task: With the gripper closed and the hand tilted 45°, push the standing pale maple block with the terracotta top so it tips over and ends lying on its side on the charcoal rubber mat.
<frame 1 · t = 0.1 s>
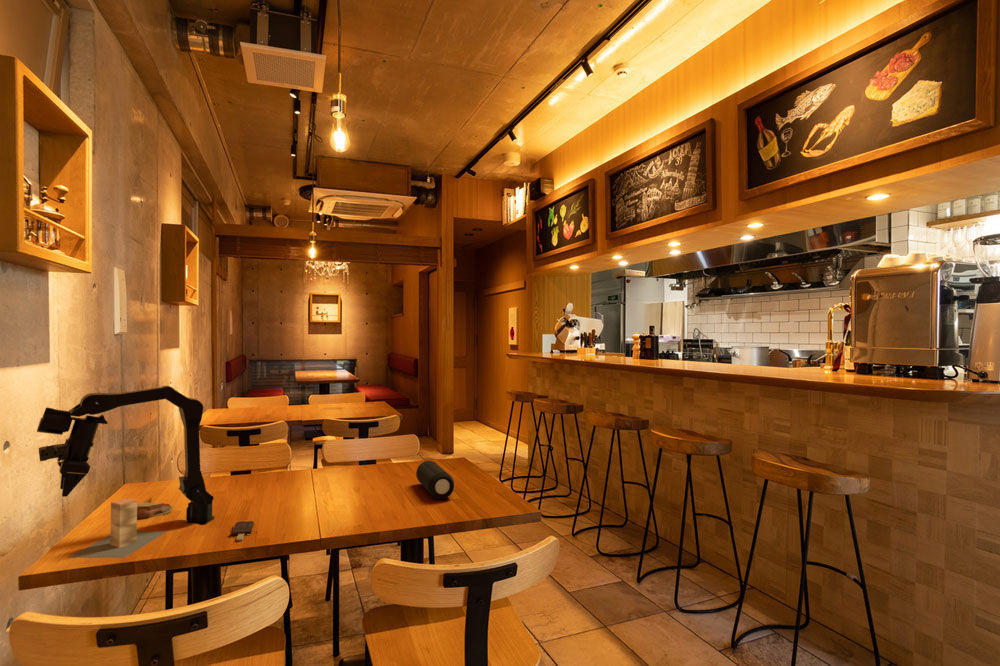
hand: (63, 492, 151), 15 cm above the table, tool pointing down, fingers open, 9 cm apart
toy sandwich meal: (151, 515, 180), on the table
ice cream bar: (242, 534, 164), on the table
portable speaker: (434, 492, 210), on the table
rubber mat: (120, 545, 153), on the table
maple block: (123, 543, 153), point 1 cm above the table, touching rubber mat
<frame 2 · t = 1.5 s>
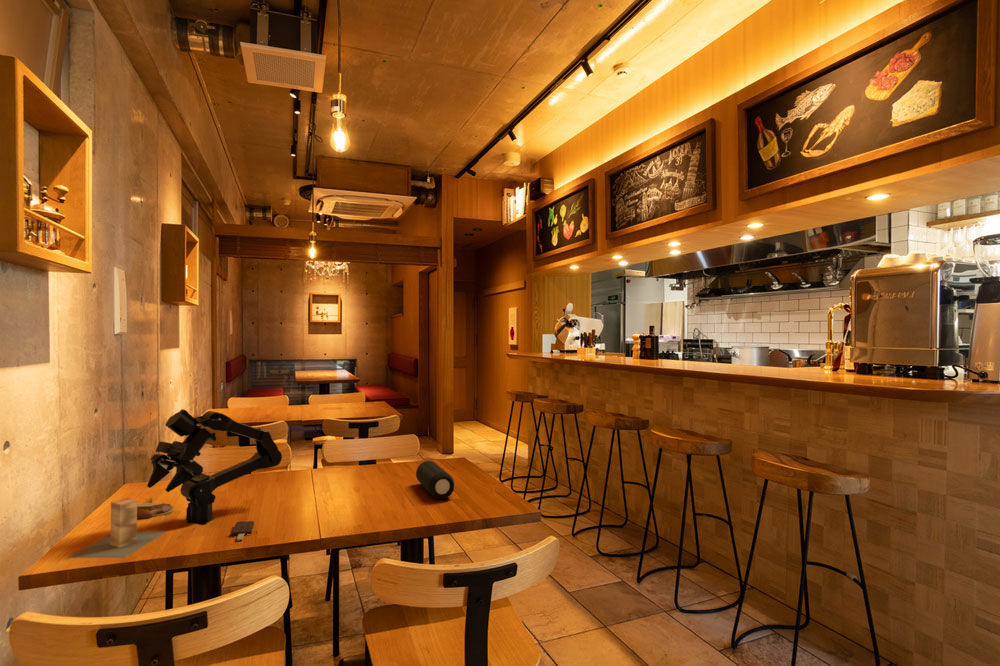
hand: (157, 489, 161), 14 cm above the table, tool tilted 45°, fingers open, 9 cm apart
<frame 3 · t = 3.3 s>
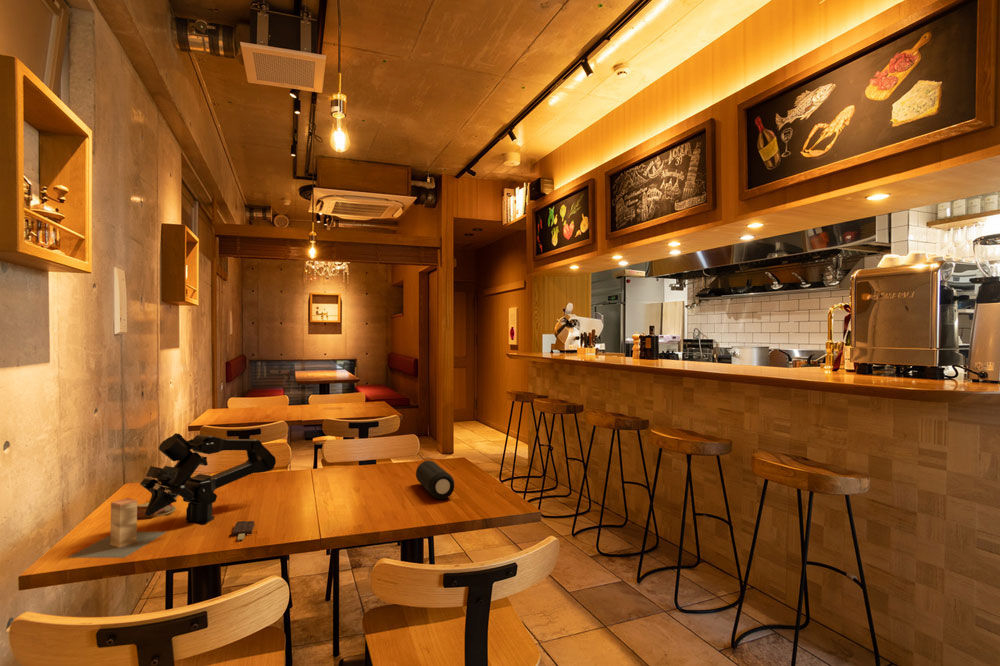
hand: (146, 515, 158), 7 cm above the table, tool tilted 45°, fingers closed
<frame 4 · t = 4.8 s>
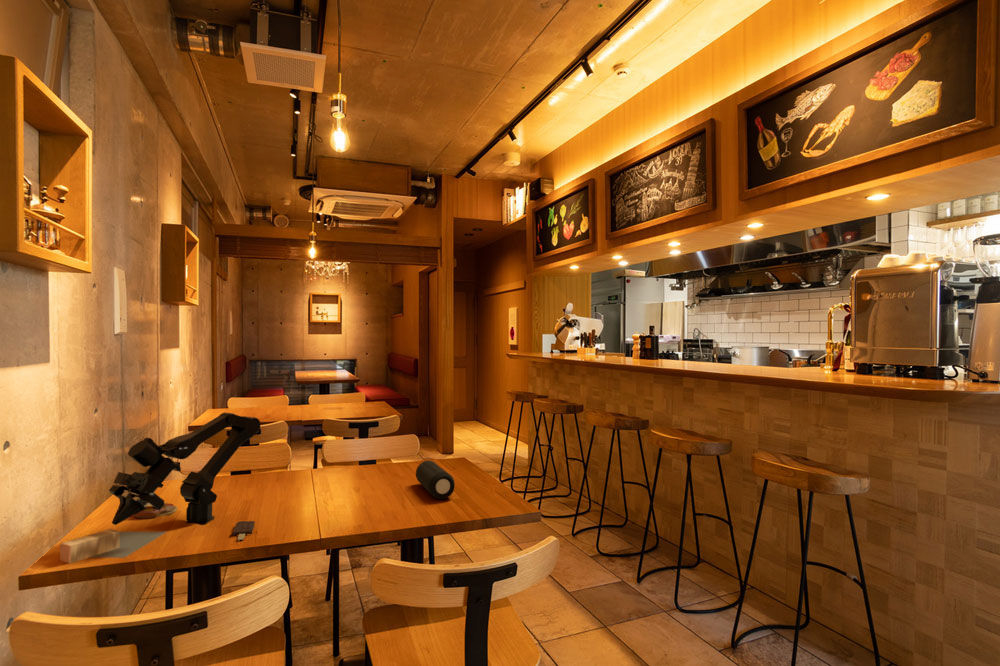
hand: (113, 524, 150), 7 cm above the table, tool tilted 45°, fingers closed
maple block: (114, 538, 151), point 3 cm above the table, tilted 90°, touching rubber mat
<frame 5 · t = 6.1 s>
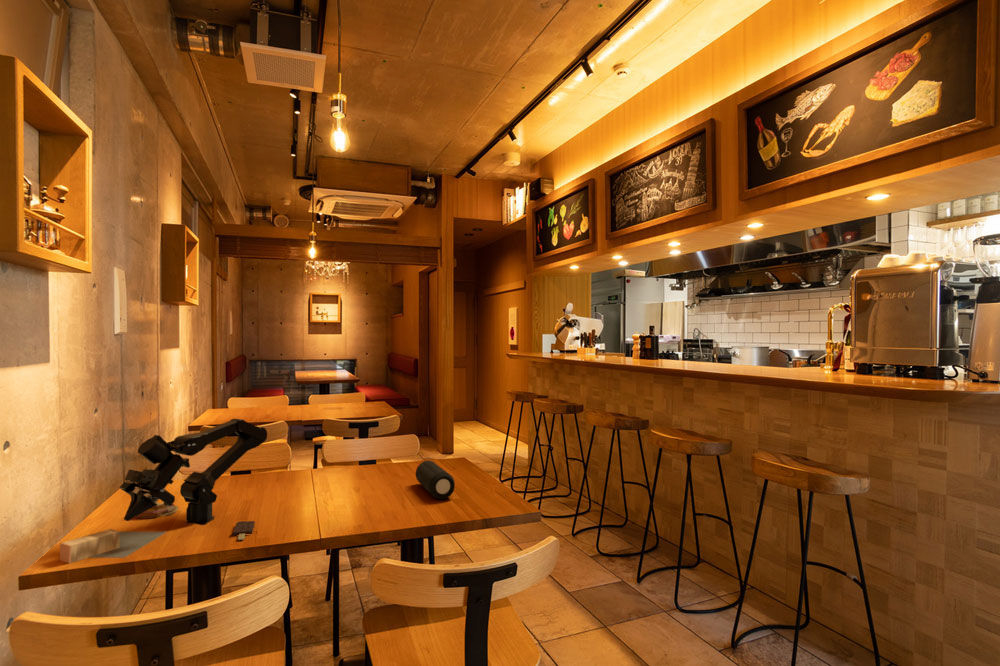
hand: (125, 520, 153), 7 cm above the table, tool tilted 45°, fingers closed
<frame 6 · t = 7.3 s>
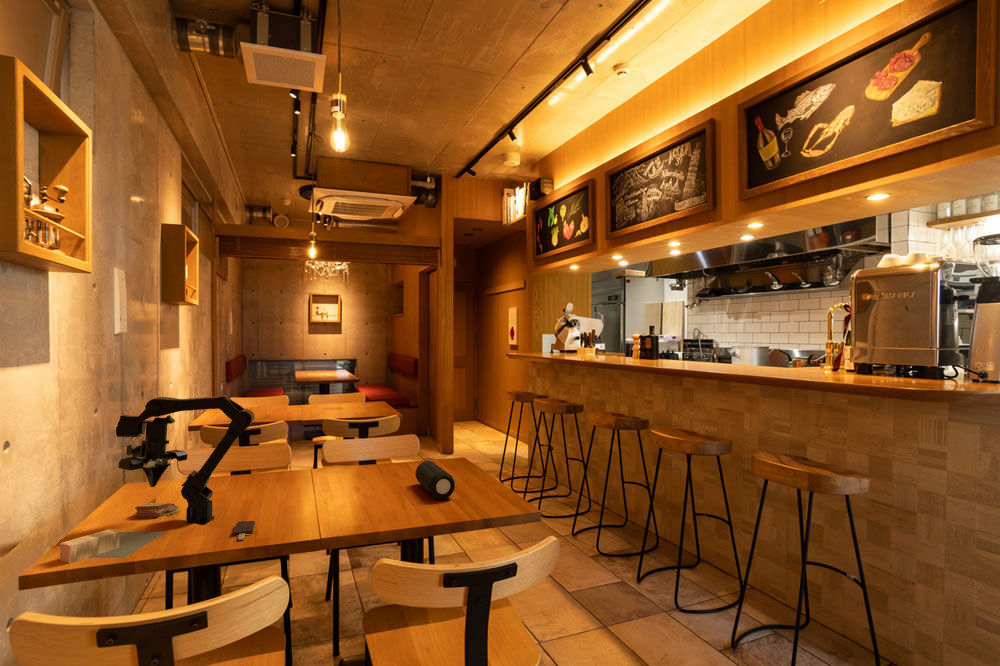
hand: (152, 486, 170), 12 cm above the table, tool pointing down, fingers closed
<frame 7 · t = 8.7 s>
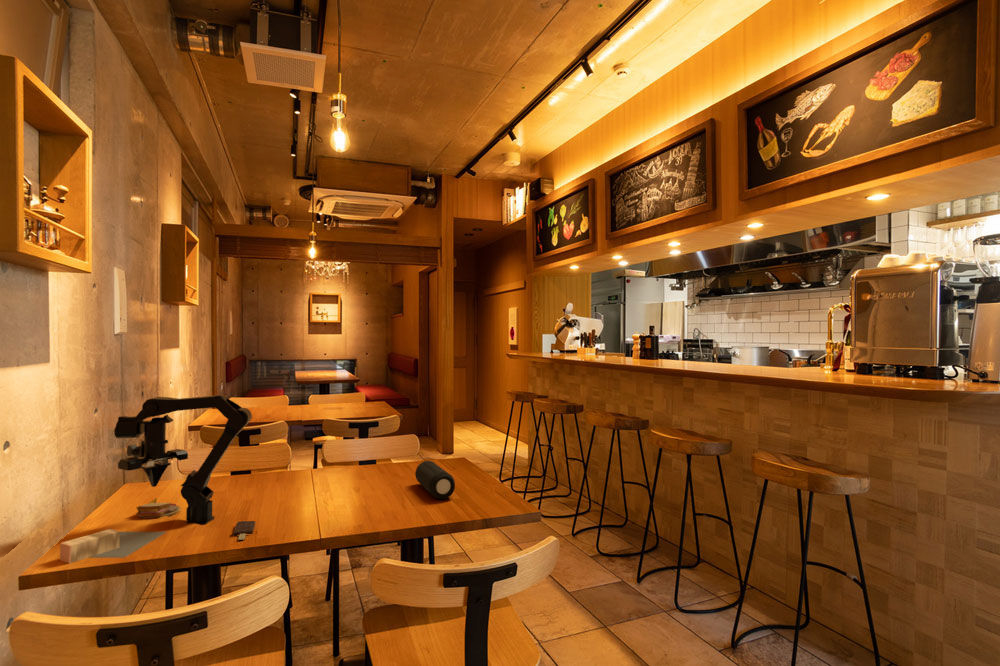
hand: (153, 486, 170), 12 cm above the table, tool pointing down, fingers closed
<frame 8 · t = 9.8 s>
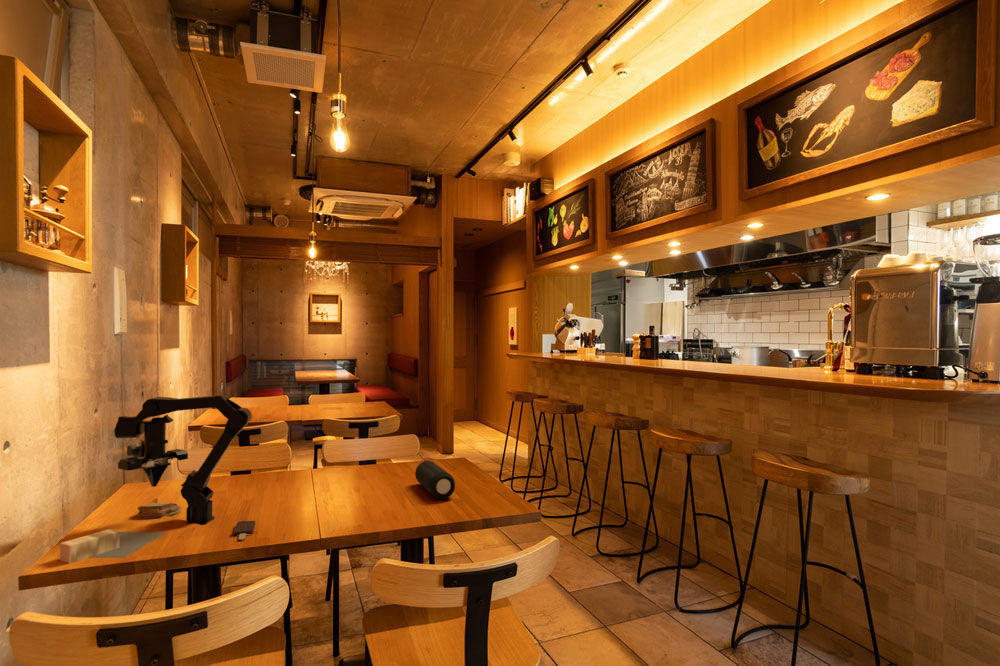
hand: (153, 486, 170), 12 cm above the table, tool pointing down, fingers closed
at the end: maple block tilted 90°; maple block inside the target area on the rubber mat (1.8 cm from its centre), point 2.8 cm above the rubber mat's base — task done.
